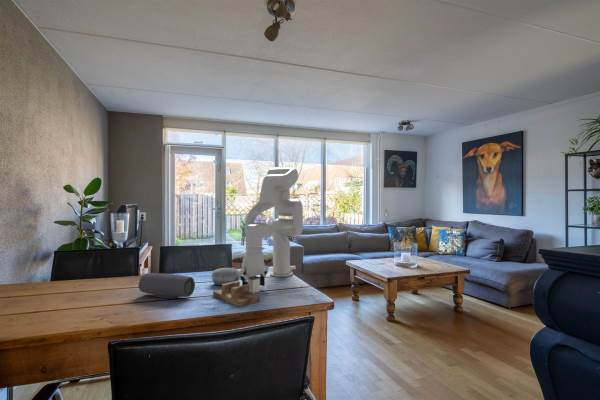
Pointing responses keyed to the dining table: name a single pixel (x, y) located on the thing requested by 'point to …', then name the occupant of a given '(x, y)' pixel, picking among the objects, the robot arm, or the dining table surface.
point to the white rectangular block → (254, 284)
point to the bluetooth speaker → (167, 285)
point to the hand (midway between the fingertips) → (253, 287)
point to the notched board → (236, 294)
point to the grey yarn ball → (224, 275)
